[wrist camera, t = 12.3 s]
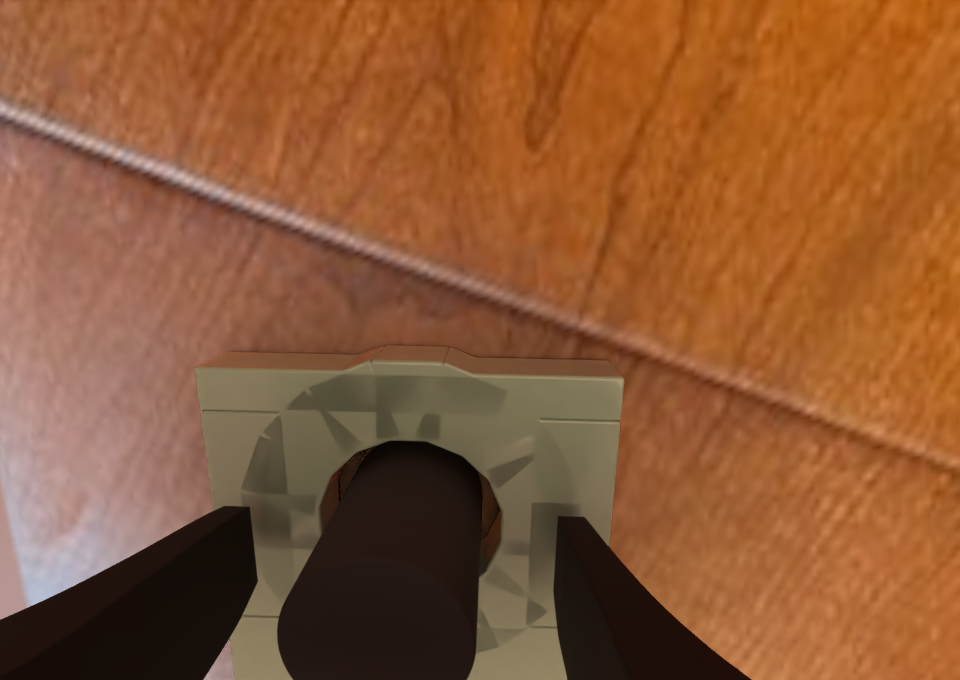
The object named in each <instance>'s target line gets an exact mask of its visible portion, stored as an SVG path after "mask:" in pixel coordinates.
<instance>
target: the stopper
mask: <svg viewBox="0 0 960 680" xmlns="http://www.w3.org/2000/svg"><path fill="white" fill-rule="evenodd" d="M481 520H482V486H481V481H480V478H479V475H478V473H477V471H476V469H475V468H474V467H473V466H472V465H471V464H470V463H469V462H468V461H467V460H466V459H465V458H464V457H463V456H460V455H458V454H456V453H453V452H451V451H448V450H446V449H443V448H441V447H438V446H436V445H434V444H431V443H429V442H424V441H388V442H385V443H382V444H380V445H378V446H377V447H376V448H374V449H373V450H372V451H371V452H370V453H369V454H368V455H367V456H366V457H365V458H364V460H363V461H362V463H361V464H360V466H359V468H358V470H357V472H356V473H355V475H354V477H353V479H352V481H351V482H350V484H349V486H348V488H347V490H346V491H345V493H344V495H343V497H342V499H341V500H340V502H339V504H338V506H337V508H336V509H335V511H334V513H333V515H332V517H331V518H330V520H329V522H328V524H327V526H326V528H325V529H324V531H323V533H322V535H321V537H320V538H319V540H318V542H317V544H316V546H315V547H314V549H313V551H312V553H311V555H310V556H309V558H308V560H307V562H306V564H305V565H304V567H303V569H302V571H301V573H300V574H299V576H298V578H297V580H296V582H295V584H294V585H293V587H292V589H291V591H290V593H289V594H288V596H287V598H286V600H285V602H284V604H283V606H282V609H281V612H280V615H279V619H278V626H277V642H278V647H279V653H280V655H281V658H282V661H283V664H284V666H285V668H286V670H287V672H288V673H289V675H290V676H291V678H292V679H293V680H467V679H468V677H469V674H470V672H471V670H472V668H473V664H474V660H475V655H476V643H477V618H478V594H479V569H480V545H481Z"/></svg>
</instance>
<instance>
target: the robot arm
mask: <svg viewBox="0 0 960 680" xmlns="http://www.w3.org/2000/svg"><path fill="white" fill-rule="evenodd" d="M257 583H258V577H257V568H256V559H255V549H254V540H253V531H252V522H251V513H250V507H245V506H223V507H221V508H219V509H216V510H214V511H212V512H210V513H208V514H206V515H204V516H203V517H201V518H199V519H197V520H195V521H193V522H192V523H190V524H188V525H186V526H184V527H183V528H181V529H179V530H177V531H175V532H174V533H172V534H170V535H168V536H166V537H165V538H163V539H161V540H159V541H158V542H156V543H154V544H152V545H150V546H149V547H147V548H145V549H143V550H141V551H140V552H138V553H136V554H134V555H132V556H131V557H129V558H127V559H125V560H123V561H121V562H119V563H117V564H115V565H113V566H111V567H110V568H108V569H106V570H104V571H102V572H100V573H98V574H96V575H94V576H92V577H90V578H88V579H87V580H85V581H83V582H81V583H79V584H77V585H75V586H73V587H71V588H69V589H67V590H65V591H63V592H61V593H59V594H56V595H54V596H52V597H50V598H48V599H46V600H44V601H42V602H39V603H37V604H35V605H33V606H30V607H28V608H26V609H24V610H22V611H19V612H17V613H15V614H13V615H10V616H8V617H6V618H4V619H1V620H0V680H203V679H204V678H205V676H206V675H207V673H208V671H209V670H210V668H211V667H212V665H213V664H214V662H215V660H216V659H217V657H218V656H219V654H220V652H221V651H222V649H223V648H224V646H225V644H226V643H227V641H228V640H229V638H230V636H231V635H232V633H233V631H234V630H235V628H236V626H237V625H238V623H239V621H240V619H241V617H242V615H243V613H244V611H245V609H246V607H247V604H248V602H249V600H250V598H251V596H252V594H253V591H254V589H255V587H256V585H257ZM553 594H554V604H555V614H556V622H557V631H558V638H559V643H560V648H561V653H562V657H563V662H564V666H565V671H566V676H567V680H751V679H750V678H748V677H747V676H746V675H744V674H743V673H742V672H740V671H739V670H738V669H736V668H735V667H734V666H732V665H731V664H730V663H728V662H727V661H726V660H724V659H723V658H722V657H721V656H719V655H718V654H717V653H716V652H714V651H713V650H712V649H711V648H709V647H708V646H707V645H706V644H705V643H703V642H702V641H701V640H700V639H699V638H698V637H697V636H695V635H694V634H693V633H692V632H691V631H690V630H688V629H687V628H686V627H685V626H684V625H683V624H681V623H680V622H679V621H678V620H677V619H676V618H675V617H674V616H673V615H672V614H671V613H669V612H668V611H667V610H666V609H665V608H664V607H663V606H662V605H661V604H660V603H659V602H658V601H657V600H656V599H655V598H654V597H653V596H652V595H651V594H650V593H649V592H648V591H647V589H646V588H645V587H644V586H643V585H642V584H641V583H640V582H639V581H638V580H637V579H636V578H635V576H634V575H633V574H632V573H631V572H630V571H629V570H628V569H627V567H626V566H625V565H624V564H623V563H622V562H621V561H620V559H619V558H618V557H617V556H616V555H615V554H614V552H613V551H612V550H611V549H610V547H609V546H608V545H607V544H606V543H605V541H604V540H603V539H602V538H601V536H600V535H599V534H598V533H597V531H596V530H595V529H594V528H593V526H592V525H591V524H590V523H589V521H588V520H587V519H586V518H585V517H575V516H558V521H557V538H556V554H555V570H554V586H553Z"/></svg>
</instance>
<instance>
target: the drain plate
mask: <svg viewBox="0 0 960 680" xmlns="http://www.w3.org/2000/svg"><path fill="white" fill-rule="evenodd" d="M195 378H196V385H197V393H198V401H199V408H200V409H201V410H202V411H201V421H202V428H203V436H204V444H205V452H206V459H207V467H208V475H209V482H210V490H211V498H212V505H213V511H214V510H216V509H219V508H221V507H223V506H245V507H250V513H251V522H252V531H253V540H254V549H255V559H256V568H257V577H258V583H257V585H256V587H255V589H254V591H253V594H252V596H251V598H250V600H249V602H248V604H247V607H246V609H245V611H244V613H243V615H242V617H241V619H240V621H239V623H238V625H237V626H236V628H235V630H234V631H233V633H232V635H231V636H230V638H229V639H230V647H231V655H232V662H233V670H234V678H235V680H293V679H292V678H291V676H290V675H289V673H288V672H287V670H286V668H285V666H284V664H283V661H282V658H281V655H280V653H279V647H278V642H277V626H278V619H279V615H280V612H281V609H282V606H283V604H284V602H285V600H286V598H287V596H288V594H289V593H290V591H291V589H292V587H293V585H294V584H295V582H296V580H297V578H298V576H299V574H300V573H301V571H302V569H303V567H304V565H305V564H306V562H307V560H308V558H309V556H310V555H311V553H312V551H313V549H314V547H315V546H316V544H317V542H318V540H319V538H320V537H321V535H322V533H323V531H324V529H325V528H326V526H327V524H328V522H329V520H330V518H331V517H332V515H333V513H334V511H335V509H336V508H337V506H338V504H339V492H338V476H339V473H340V471H341V468H342V466H343V465H344V464H345V463H346V462H348V461H349V460H350V459H351V458H352V457H353V456H354V455H355V454H356V453H358V452H360V451H363V450H366V449H369V448H371V447H374V446H377V445H380V444H382V443H385V442H388V441H424V442H429V443H431V444H434V445H436V446H438V447H441V448H443V449H446V450H448V451H451V452H453V453H456V454H458V455H460V456H463V457H464V458H465V459H466V460H467V461H468V462H469V463H470V464H471V465H472V466H473V467H474V468H475V469H476V470H477V471H478V472H479V473H481V474H482V475H483V476H484V477H485V478H486V479H487V480H488V482H489V484H490V486H491V489H492V491H493V493H494V496H495V498H496V500H497V503H498V505H499V513H498V515H497V517H496V519H495V521H494V523H493V525H492V527H491V529H490V531H489V533H488V535H487V536H486V537H484V538H483V539H482V540H481V545H480V569H479V594H478V618H477V643H476V655H475V660H474V664H473V668H472V670H471V672H470V674H469V677H468V679H467V680H567V676H566V671H565V666H564V662H563V657H562V653H561V648H560V643H559V638H558V631H557V622H556V614H555V604H554V594H553V586H554V570H555V554H556V538H557V521H558V516H575V517H585V518H586V519H587V520H588V521H589V523H590V524H591V525H592V526H593V528H594V529H595V530H596V531H597V533H598V534H599V535H600V536H601V538H602V539H603V540H604V541H605V543H606V544H607V545H608V546H609V545H610V534H611V524H612V513H613V502H614V491H615V480H616V469H617V458H618V447H619V437H620V426H621V423H620V421H619V420H620V419H621V414H622V403H623V393H624V382H625V379H624V377H623V376H622V375H621V374H620V372H619V371H618V370H617V369H616V368H615V367H614V365H613V364H612V363H611V362H610V361H608V360H572V359H529V358H485V357H474V356H471V355H469V354H467V353H464V352H462V351H459V350H457V349H455V348H452V347H450V348H448V347H446V346H403V345H386V346H379V347H377V348H374V349H372V350H369V351H367V352H364V353H361V354H359V355H355V354H311V353H267V352H227V353H225V354H222V355H220V356H218V357H216V358H214V359H212V360H210V361H208V362H206V363H204V364H202V365H200V366H198V367H196V368H195Z"/></svg>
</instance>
